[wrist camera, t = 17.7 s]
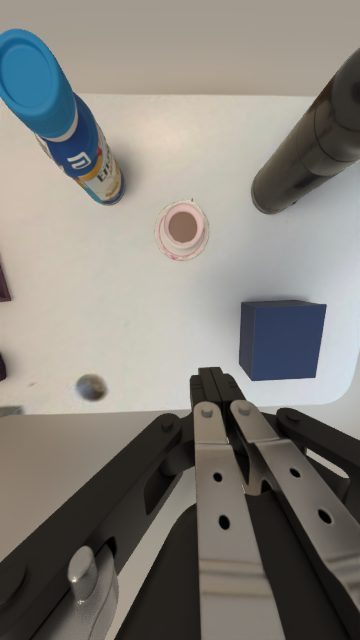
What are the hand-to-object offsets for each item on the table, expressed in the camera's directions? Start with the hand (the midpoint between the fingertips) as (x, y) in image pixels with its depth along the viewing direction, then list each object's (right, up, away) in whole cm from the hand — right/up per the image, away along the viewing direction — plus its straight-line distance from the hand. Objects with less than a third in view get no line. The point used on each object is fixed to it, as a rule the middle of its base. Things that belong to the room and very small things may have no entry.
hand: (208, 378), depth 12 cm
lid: (+21, -1, +25) cm, 33 cm away
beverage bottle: (-18, +33, +24) cm, 44 cm away
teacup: (-2, +24, +26) cm, 36 cm away
